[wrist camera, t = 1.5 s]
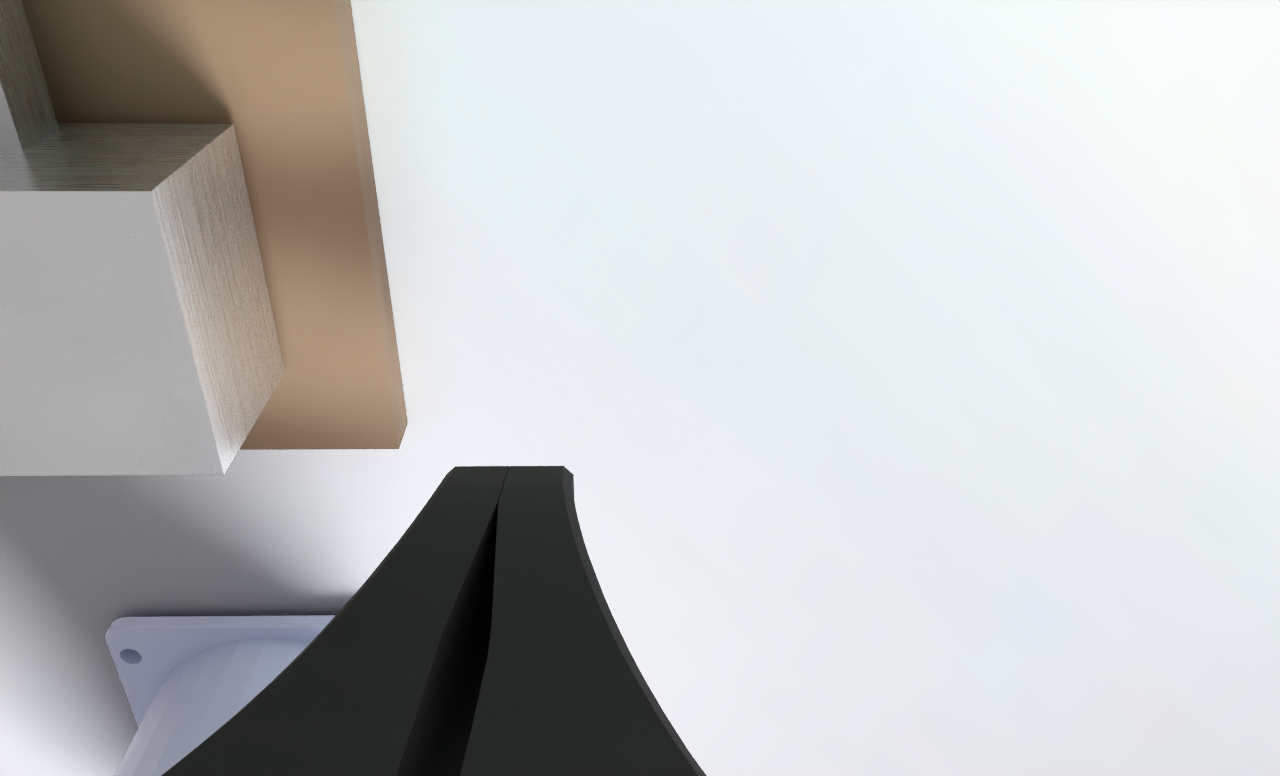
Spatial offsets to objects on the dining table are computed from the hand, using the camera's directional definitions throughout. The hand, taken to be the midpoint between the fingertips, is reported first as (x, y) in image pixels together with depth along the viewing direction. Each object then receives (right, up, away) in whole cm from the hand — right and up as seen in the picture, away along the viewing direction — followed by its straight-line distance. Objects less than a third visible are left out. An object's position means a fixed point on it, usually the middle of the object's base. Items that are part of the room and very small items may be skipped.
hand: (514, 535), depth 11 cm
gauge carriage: (-8, +6, +6) cm, 11 cm away
